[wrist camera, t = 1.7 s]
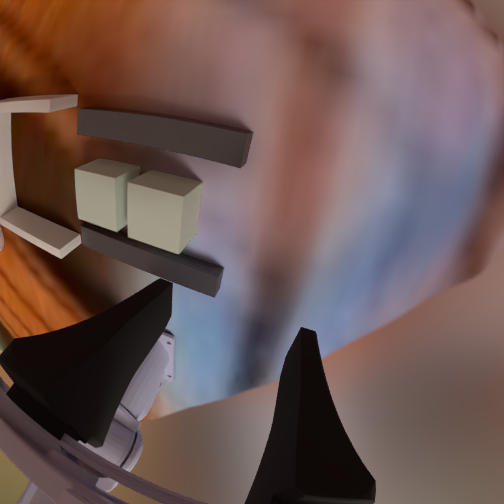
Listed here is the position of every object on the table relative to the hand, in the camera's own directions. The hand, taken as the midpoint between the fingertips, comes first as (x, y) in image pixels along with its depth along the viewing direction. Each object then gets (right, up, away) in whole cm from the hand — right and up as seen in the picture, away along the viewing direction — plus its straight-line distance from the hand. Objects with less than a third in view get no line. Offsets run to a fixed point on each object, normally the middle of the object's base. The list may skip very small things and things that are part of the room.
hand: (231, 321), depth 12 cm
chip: (-9, +8, +8) cm, 15 cm away
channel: (-6, +7, +8) cm, 12 cm away
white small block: (-5, +6, +8) cm, 11 cm away
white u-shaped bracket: (-20, +11, +9) cm, 25 cm away
